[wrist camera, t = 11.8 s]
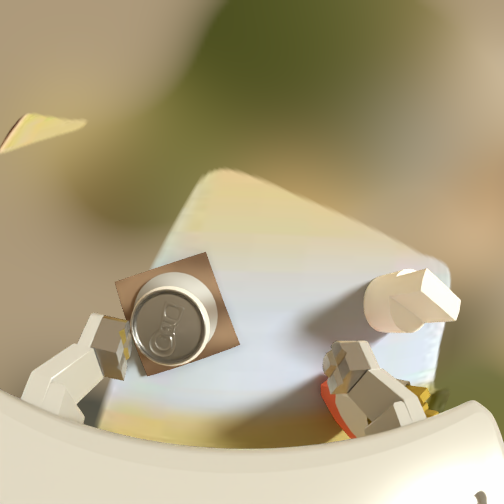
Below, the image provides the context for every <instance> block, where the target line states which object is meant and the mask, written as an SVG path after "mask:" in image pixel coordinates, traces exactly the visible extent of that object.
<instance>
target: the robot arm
mask: <svg viewBox="0 0 504 504" xmlns="http://www.w3.org/2000/svg"><path fill="white" fill-rule="evenodd" d="M129 330H130V322H129V321H127V320H123V319H118V318H114V317H110V316H106V315H101V314H97V313H92V314H91V315H90V317H89V319H88V321H87V323H86V325H85V327H84V330H83V332H82V334H81V336H80V338H79V341H78V343H77V344H75V343H73V344H72V345H70V346H69V347H67V348H66V349H64V350H63V351H61V352H60V353H58V354H57V355H55V356H54V357H52V358H51V359H50V360H48V361H47V362H45V363H44V364H42V365H41V366H39V367H38V368H36V369H35V370H33V371H32V372H31V374H30V377H29V379H28V382H27V384H26V386H25V389H24V391H23V395H22V397H21V399H19V398H17V397H15V396H13V395H11V394H9V393H8V392H6V391H3V390H2V389H0V504H504V442H503V439H502V436H501V434H500V431H499V428H498V426H497V423H496V421H495V419H494V417H493V415H492V414H491V413H490V412H489V411H488V410H487V409H486V408H485V407H484V406H482V405H481V404H480V403H478V402H476V401H474V400H471V401H468V402H466V403H463V404H461V405H459V406H457V407H454V408H452V409H450V410H447V411H445V412H442V413H440V414H437V415H434V416H432V417H429V418H427V417H426V415H425V413H424V410H423V408H422V406H421V404H420V401H419V399H418V397H417V396H416V395H415V394H414V393H412V392H411V391H410V390H409V389H407V388H406V387H405V386H404V385H402V384H401V383H400V382H399V381H398V380H396V379H395V378H394V377H393V376H391V375H390V374H389V373H388V372H386V371H385V370H384V369H380V367H379V365H378V363H377V360H376V358H375V356H374V354H373V352H372V350H371V347H370V345H369V343H368V342H367V341H335V342H334V343H333V344H332V345H331V349H332V350H331V351H329V352H328V353H326V355H325V357H324V359H323V371H324V374H325V375H326V376H327V377H329V378H328V381H327V384H328V387H329V391H330V394H347V393H348V394H347V395H348V396H349V397H350V398H351V399H352V400H353V401H354V403H355V404H356V405H357V406H358V407H359V408H360V409H361V410H362V411H363V413H364V414H365V415H366V416H367V417H368V418H369V419H370V420H371V421H372V422H371V423H370V424H369V425H368V426H367V427H365V429H364V432H365V435H366V436H363V437H358V438H353V439H348V440H342V441H336V442H330V443H323V444H316V445H307V446H297V447H285V448H266V449H226V448H207V447H195V446H185V445H177V444H169V443H162V442H156V441H150V440H145V439H139V438H135V437H130V436H125V435H121V434H117V433H113V432H109V431H105V430H101V429H98V428H94V427H91V426H87V425H85V424H83V423H84V415H83V414H82V412H81V411H80V409H79V408H78V406H77V405H76V404H77V403H78V402H79V401H80V400H81V399H82V398H83V397H84V396H85V395H86V394H87V393H88V392H89V391H90V390H91V389H92V388H93V387H94V386H96V385H97V384H98V383H99V381H101V380H102V379H103V378H104V377H108V378H113V379H118V380H123V381H124V378H125V374H126V370H127V363H126V360H127V359H129V358H130V354H131V349H132V335H131V334H130V333H129ZM103 376H104V377H103Z"/></svg>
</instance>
